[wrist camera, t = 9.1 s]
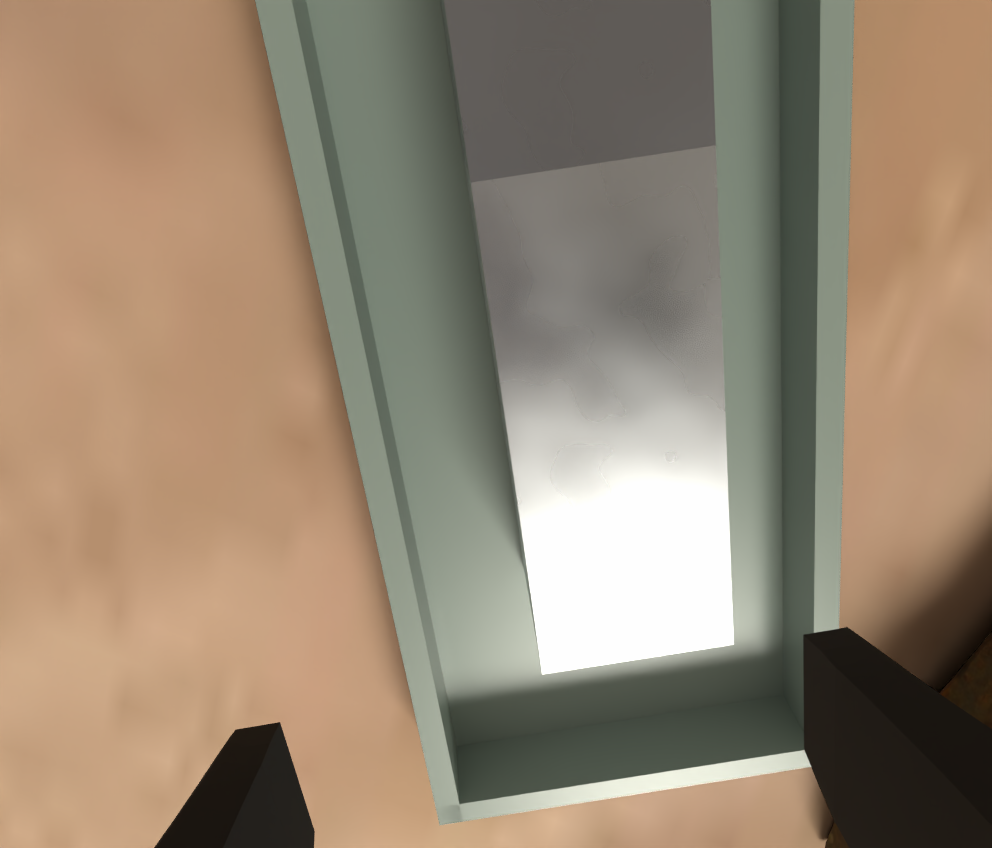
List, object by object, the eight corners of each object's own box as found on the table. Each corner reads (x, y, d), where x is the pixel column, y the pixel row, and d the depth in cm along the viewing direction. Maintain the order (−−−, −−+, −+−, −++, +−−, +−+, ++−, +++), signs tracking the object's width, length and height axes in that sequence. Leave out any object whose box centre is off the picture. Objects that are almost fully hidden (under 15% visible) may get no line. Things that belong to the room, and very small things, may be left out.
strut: (523, 568, 22) (542, 674, 18) (434, -40, 16) (435, -64, 13) (682, 544, 22) (733, 644, 18) (645, -71, 16) (707, -104, 13)
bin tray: (438, 752, 25) (439, 825, 22) (207, -326, 15) (166, -393, 13) (798, 696, 25) (835, 762, 22) (800, -414, 15) (865, -495, 13)
